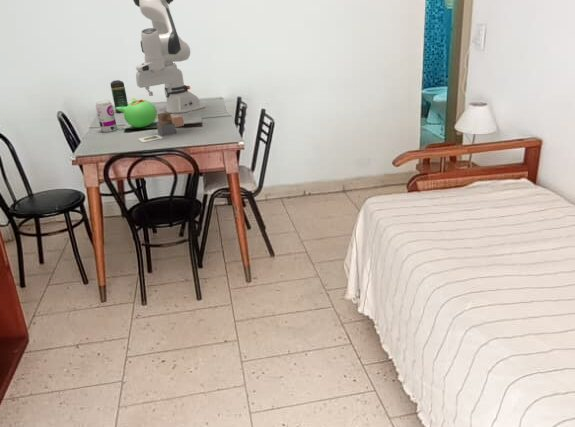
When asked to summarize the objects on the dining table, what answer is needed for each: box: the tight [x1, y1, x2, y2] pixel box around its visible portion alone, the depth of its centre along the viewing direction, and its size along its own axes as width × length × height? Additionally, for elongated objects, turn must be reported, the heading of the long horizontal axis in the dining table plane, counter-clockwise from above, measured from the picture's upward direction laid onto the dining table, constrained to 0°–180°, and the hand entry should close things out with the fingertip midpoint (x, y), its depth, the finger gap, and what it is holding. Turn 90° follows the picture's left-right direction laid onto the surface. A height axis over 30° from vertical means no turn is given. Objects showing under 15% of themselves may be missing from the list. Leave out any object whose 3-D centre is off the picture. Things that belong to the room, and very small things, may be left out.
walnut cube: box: [157, 111, 172, 126], centre depth 259 cm, size 5×5×5 cm
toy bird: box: [115, 97, 158, 128], centre depth 276 cm, size 18×17×15 cm
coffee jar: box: [110, 79, 129, 114], centre depth 316 cm, size 10×8×19 cm
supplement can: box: [95, 100, 118, 133], centre depth 274 cm, size 8×8×15 cm
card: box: [137, 134, 163, 143], centre depth 254 cm, size 10×8×1 cm
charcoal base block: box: [156, 123, 177, 137], centre depth 261 cm, size 7×7×5 cm
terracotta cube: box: [171, 114, 185, 128], centre depth 274 cm, size 5×5×5 cm
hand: (160, 93), depth 254 cm, fingers open, 8 cm apart
